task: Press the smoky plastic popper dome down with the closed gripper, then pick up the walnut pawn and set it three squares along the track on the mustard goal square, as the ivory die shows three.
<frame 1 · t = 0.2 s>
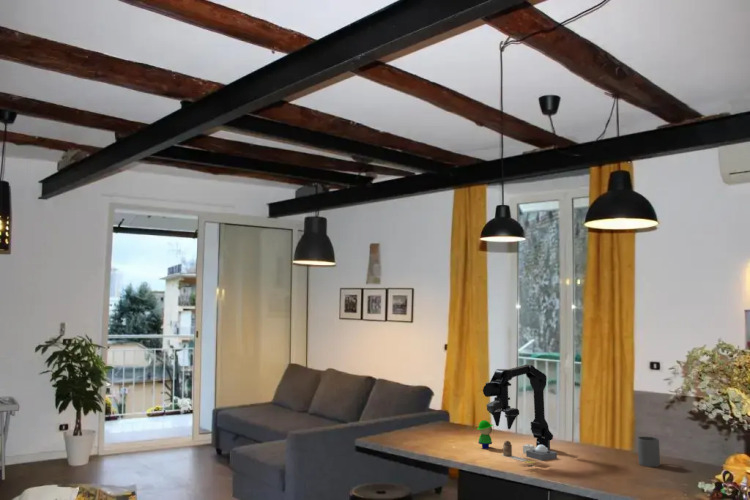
hand: (503, 427, 307), 14 cm above the counter, fingers open, 9 cm apart
toy: (485, 450, 323), on the counter
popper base: (541, 460, 300), resting on board
dome: (541, 450, 301), point 4 cm above the counter, slide at 0.0 cm
mug: (651, 464, 292), on the counter
pawn: (507, 455, 304), point 1 cm above the counter, touching board
die: (528, 453, 310), point 1 cm above the counter, touching board
board: (528, 459, 301), on the counter
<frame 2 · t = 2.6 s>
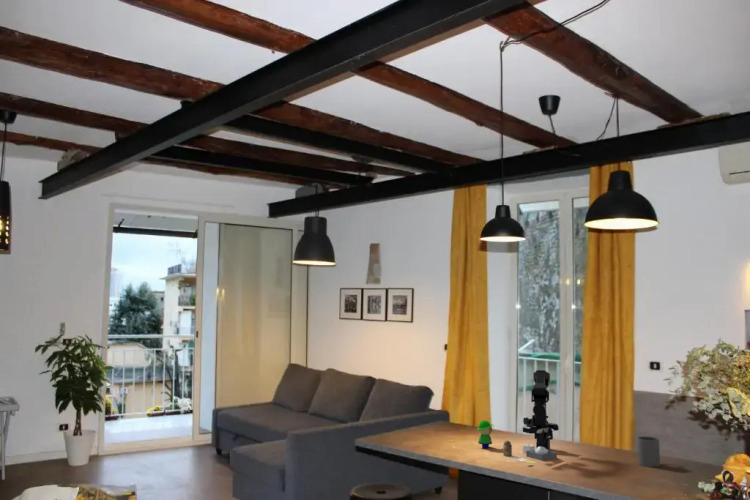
hand: (541, 446, 301), 6 cm above the counter, fingers closed, pressing on dome
dome: (541, 452, 301), point 4 cm above the counter, slide at -0.8 cm, touching board, gripper
everything else where it was.
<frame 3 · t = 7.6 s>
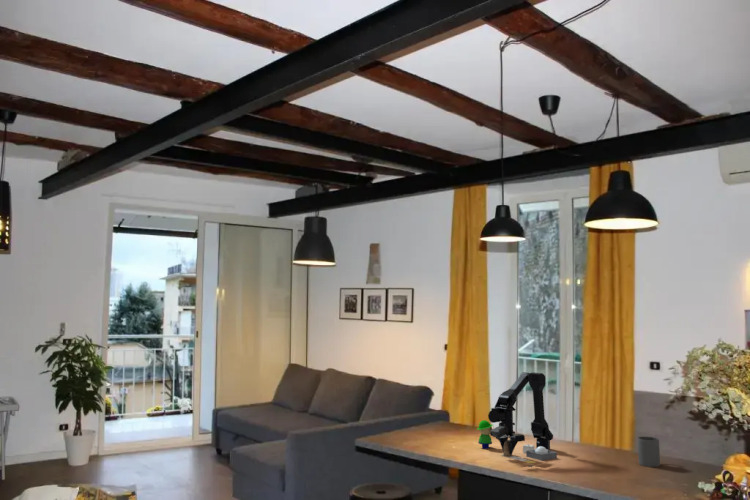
hand: (507, 453, 304), 2 cm above the counter, fingers closed on pawn, 4 cm apart
dome: (541, 452, 301), point 4 cm above the counter, slide at -0.8 cm, touching board
pawn: (507, 455, 304), point 1 cm above the counter, touching board, gripper
everything else where it was.
when the fingers open (3 cm above the counter, at t = 10.9 s): pawn stays where it is, resting on board.
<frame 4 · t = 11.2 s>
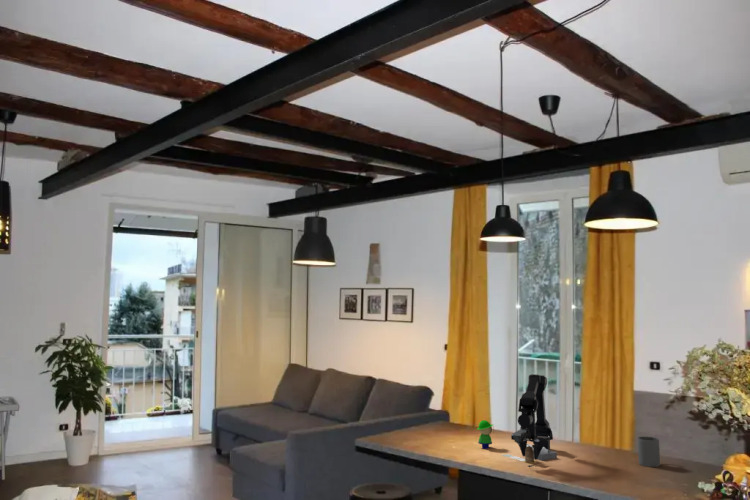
hand: (529, 458, 291), 3 cm above the counter, fingers open, 7 cm apart
pawn: (529, 461, 291), point 1 cm above the counter, touching board
everything else where it was.
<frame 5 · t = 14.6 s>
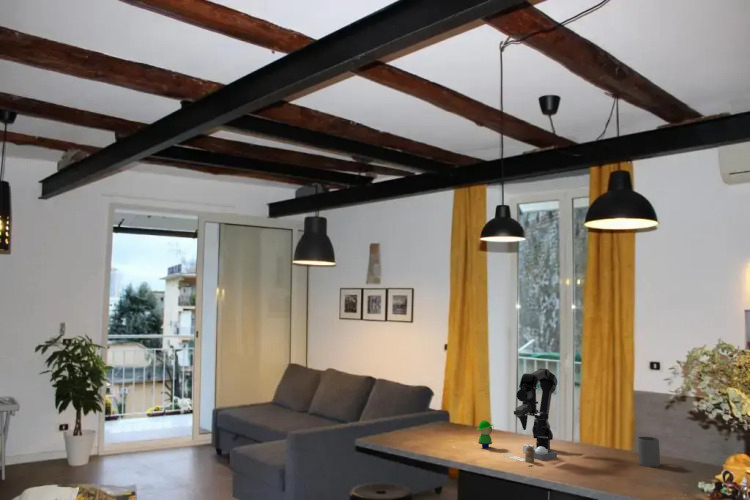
hand: (531, 431, 309), 12 cm above the counter, fingers open, 9 cm apart
nothing on the counter moved.
at the end: dome slide at -0.8 cm; pawn 0.1 cm from the target spot, point 1.4 cm above the counter; pawn tilted 2° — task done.
